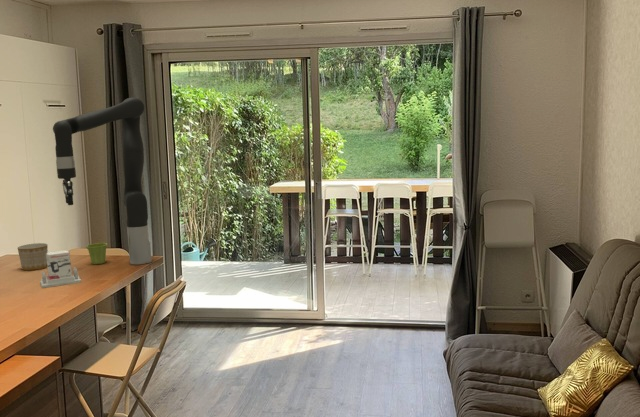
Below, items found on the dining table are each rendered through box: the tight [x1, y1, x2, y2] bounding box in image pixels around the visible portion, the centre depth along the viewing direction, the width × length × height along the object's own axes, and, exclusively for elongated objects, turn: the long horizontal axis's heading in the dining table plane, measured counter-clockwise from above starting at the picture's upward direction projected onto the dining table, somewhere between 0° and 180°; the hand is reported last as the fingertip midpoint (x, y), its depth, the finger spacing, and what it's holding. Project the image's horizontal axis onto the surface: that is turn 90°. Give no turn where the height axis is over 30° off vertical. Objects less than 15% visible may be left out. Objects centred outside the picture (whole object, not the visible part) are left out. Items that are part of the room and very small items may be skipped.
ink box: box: [46, 249, 73, 280], centre depth 270 cm, size 8×5×12 cm, turn 122°
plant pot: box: [86, 242, 108, 265], centre depth 305 cm, size 9×9×9 cm
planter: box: [17, 242, 49, 271], centre depth 300 cm, size 13×13×10 cm
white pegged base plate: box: [39, 266, 82, 289], centre depth 270 cm, size 15×11×5 cm
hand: (69, 204), depth 286 cm, fingers open, 8 cm apart
